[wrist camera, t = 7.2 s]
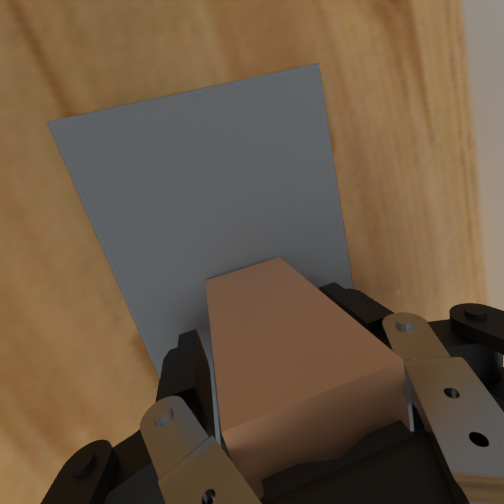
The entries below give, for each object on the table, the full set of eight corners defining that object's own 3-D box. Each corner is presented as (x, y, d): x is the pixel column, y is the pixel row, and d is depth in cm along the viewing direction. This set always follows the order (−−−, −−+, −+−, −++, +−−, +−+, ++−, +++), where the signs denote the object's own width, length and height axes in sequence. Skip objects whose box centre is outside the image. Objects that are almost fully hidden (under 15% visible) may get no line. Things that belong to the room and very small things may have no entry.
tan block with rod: (205, 280, 13) (221, 432, 5) (279, 256, 14) (403, 360, 6) (280, 507, 18) (350, 768, 10) (332, 483, 19) (439, 713, 11)
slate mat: (52, 124, 11) (46, 122, 11) (314, 67, 13) (318, 63, 12) (235, 545, 19) (236, 554, 19) (379, 478, 21) (383, 485, 20)
